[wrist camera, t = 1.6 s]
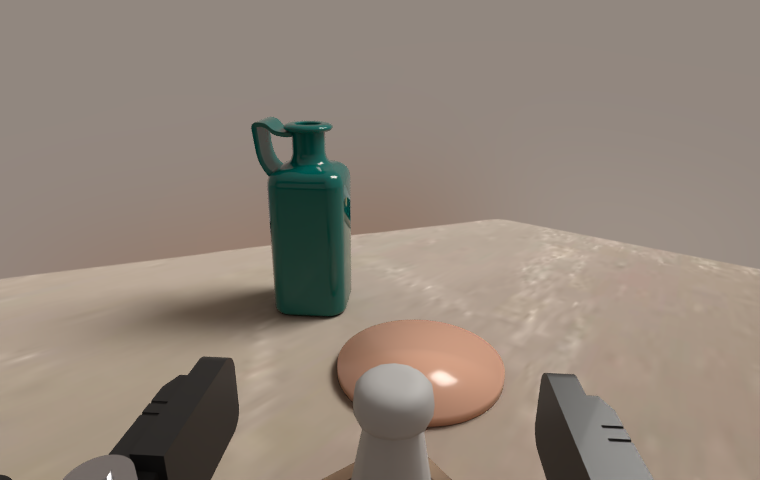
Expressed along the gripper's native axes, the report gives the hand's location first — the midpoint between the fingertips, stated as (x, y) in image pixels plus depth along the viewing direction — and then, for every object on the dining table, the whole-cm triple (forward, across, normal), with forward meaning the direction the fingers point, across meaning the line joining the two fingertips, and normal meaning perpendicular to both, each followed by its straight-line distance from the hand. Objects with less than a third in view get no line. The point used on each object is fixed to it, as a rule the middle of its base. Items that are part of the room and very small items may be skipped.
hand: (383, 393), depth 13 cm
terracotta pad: (+31, -2, +20) cm, 37 cm away
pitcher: (+44, +12, +20) cm, 50 cm away
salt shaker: (+11, 0, +20) cm, 23 cm away
